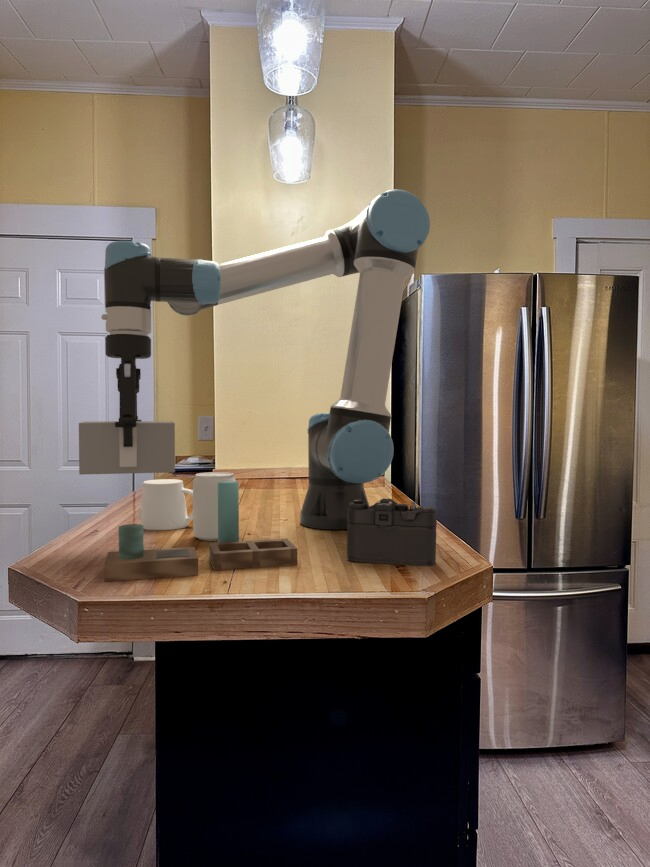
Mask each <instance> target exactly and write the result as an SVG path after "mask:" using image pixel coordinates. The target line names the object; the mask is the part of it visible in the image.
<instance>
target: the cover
mask: <svg viewBox="0 0 650 867" xmlns="http://www.w3.org/2000/svg"><path fill="white" fill-rule="evenodd" d="M115 422H119V420H118V421H109V420H108V421H93V420H91V421H86V420H85V421H81V422H79V423H78V465H79V466H78V468H79V469H78V472H79V473H78V474H79V475H81V476H82V475H119V474H120V475H121V474H161V473H164V474H165V473H166V474H167V473H171V474H172V473H176V467H175V466H176V446H175V445H176V440H175V439H176V437H175V434H176V432H175V431H176V430H175V429H176V428H175V426H176V424H175V423H176V422H174V421H172V420H171V421H170V420H169V421H167V420H166V421H165V420H164V421H163V420H161V421H158V420H155V421H147V420H146V421H142V420H141V421H136V427H137V467H120V445H119V427H115Z"/></svg>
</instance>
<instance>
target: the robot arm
mask: <svg viewBox="0 0 650 867" xmlns="http://www.w3.org/2000/svg"><path fill="white" fill-rule="evenodd" d="M428 211H429V210H428V209H427V208H426V206H425V205H424V203H423V202H422V201H421V199H420V198H418V196H416V195H415V194H413V193H411V192H410V191H408V190H404V189H400V188H399V189H397V188H395V189H388V190H386V191H383V192H381V193H380V194H379V195H376V196H375V197H374V198H372V199H371V200H370V202H369V203H368V205H367V207H365V209H363V210H362V211H361V212H360V213H359V214H358V215H357V216H356V217H355V218H354V219H352V220H351V221H349V222H347V223H346V224H344V225H342V226H340V227H336V228H333V229H329V230H327V231H326V232H325V235H324V236H323V237H318V238H316V239H311V240H307V241H304V242H299V243H296V244H293V245H292V244H291V245H287V246H283V247H280V248H276V249H272V250H269V251H265V252H261V253H258V254H257V253H256V254H253V255H250V256H246V257H242V258H239V259H238V258H237V259H234V260H230V261H225V262H222V263H218V262H216V261H213V260H206V259H204V260H203V258H197V259H194V258H193V259H190V258H189V259H188V258H187V259H186V258H171V257H170V258H169V257H156V256H152V253H151V248H150V246H149V245H147V244H146V243H142V242H140V241H139V242H137V241H133V240H116V241H112V242H110V243H108V244H107V245H106V248H105V255H104V257H105V258H104V270H103V271H104V274H103V275H104V300H105V301H104V304H105V305H104V306H105V307H104V308H105V314H104V313H103V314H102V315H101V317H100V318H101V319H102V320H103V321H105V331H106V332H107V333H109V334H106V336H105V339H104V340H105V344H104V345H105V356H106V357H108V358H112V359H120V363H119V365H118V367H116V369H115V374H116V379H117V391H118V393H119V417H118V421H119V422H115V427H119V445H120V467H137V427H136V421H142V419H139V416H138V396H137V395H138V393H140V380H141V375H142V373H141V370H142V369H141V368H138V367H137V364H136V359H138V360H141V359H142V360H143V359H150V358H151V357H152V338H151V337H150V336H149V335H150V334H151V333H152V310H151V308H152V307H151V303H152V302H158V303H161V302H162V303H167V304H168V305H169V307H170V308H171V309H172V311H174V312H175V313H176V314H179V315H181V316H193V315H196V314H198V312H200V311H201V310H205V309H209V308H212V307H213V308H214V307H215V306H218V305H224V304H226V303H231V302H235V301H238V300H241V299H245V298H248V297H253V296H256V295H259V294H263V293H266V292H271V291H275V290H278V289H282V288H286V287H290V286H294V285H298V284H301V283H304V282H305V283H306V282H308V281H312V280H316V279H319V278H322V277H323V278H324V277H326V276H330V275H334V276H335V277H337V278H342V277H346V276H350V275H354V274H359V278H358V284H357V289H356V296H355V302H354V309H353V316H352V321H351V328H350V335H349V341H348V345H347V346H348V347H347V352H346V359H345V365H344V366H345V367H344V370H343V372H344V373H343V379H342V384H341V389H340V390H341V391H340V396H339V398H338V400H336V401H335V402H334V403H333V404H331V405H330V410H329V411H328V412H324V413H323V412H321V413H316V414H313V415H312V416H311V417H310V418H309V419H308V420H309V421H308V427H307V435H308V437H307V438H308V440H307V441H308V442H307V444H308V445H307V446H308V449H307V450H308V454H307V456H308V458H307V459H308V463H307V464H308V488H307V491H306V494H305V496H304V500H303V503H302V507H301V509H300V514H299V515H300V516H299V517H300V518H299V522H300V523H299V524H300V525H302V526H305V527H306V528H307V527H308V528H312V529H319V530H320V529H321V530H347V524H348V521H347V514H348V508H349V503H352V502H353V500H358V499H359V500H363V503H367V505H368V507H369V506H370V503H369V501H368V496H367V494H366V490H365V485H364V484H367V483H370V482H374V481H375V480H378V479H379V478H380V477H381V476H384V474H385V473H386V472H387V471H388V469H389V467H390V466H391V463H392V461H393V458H394V450H395V448H394V442H393V439H392V436H391V435H390V427H391V421H392V420H391V419H392V414H391V412H390V411H389V410H388V408H387V407H386V401H387V395H388V390H389V383H390V377H391V376H390V375H391V368H392V363H393V358H394V357H393V356H394V352H395V346H396V339H397V332H398V327H399V326H398V325H399V319H400V314H401V306H402V301H403V295H404V289H405V282H406V280H407V279H408V278H410V277H411V276H413V275H414V274H415V272H416V265H417V258H418V253H419V248H421V247H422V246H423V245H424V244H425V241H426V240H427V238H428V236H429V233H430V229H431V219H430V215H429V214H430V213H429V212H428Z"/></svg>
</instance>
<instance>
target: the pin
mask: <svg viewBox="0 0 650 867" xmlns="http://www.w3.org/2000/svg"><path fill="white" fill-rule="evenodd" d="M239 486H240V485H239V481H237V480H236V481H221V482H218V541H217V543H221V542H238V541H240V520H239V519H240V516H239V515H240V510H239V504H240V503H239V498H240V493H239V490H240V489H239Z"/></svg>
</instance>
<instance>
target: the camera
mask: <svg viewBox="0 0 650 867" xmlns="http://www.w3.org/2000/svg"><path fill="white" fill-rule="evenodd" d="M410 503H411V505H410V506H409V504H407V503H397V502H396V501H394V500H393V499H392V498H381V499H380V500H378V501H377V502H376V503H374V504H372V505H369V507H368V505H367V503H363V500H359V499H358V500H353V502H352V503H349V508H348V514H347V521H348V524H347V529H346V532H347V533H346V534H347V535H346V559H347V561H350V562H353V563H354V562H355V563H370V564H371V563H372V564H385V565H402V566H406V565H407V566H417V567H418V566H421V567H422V566H423V567H430V566H431V567H433V566H435V565H436V560H437V558H436V555H437V520H438V518H437V517H438V515H437V513H438V512H437V510H436V507H434V506H428V505H424V506H421V505H420V506H418V507H417V506H416V503H417V501H410Z"/></svg>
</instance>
